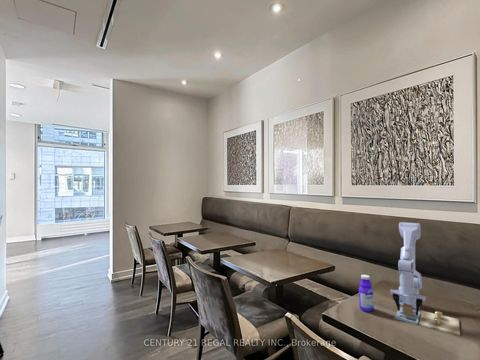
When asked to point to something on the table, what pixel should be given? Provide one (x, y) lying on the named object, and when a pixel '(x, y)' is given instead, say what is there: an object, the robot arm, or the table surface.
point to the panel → (404, 318)
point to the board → (446, 325)
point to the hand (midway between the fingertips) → (407, 312)
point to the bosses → (438, 317)
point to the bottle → (366, 294)
